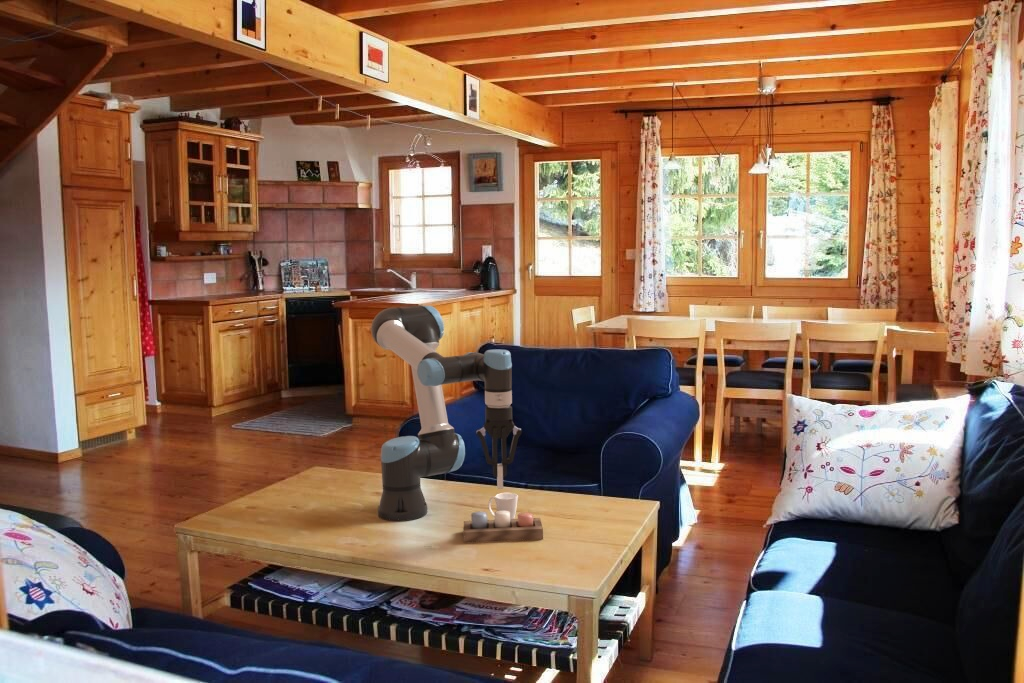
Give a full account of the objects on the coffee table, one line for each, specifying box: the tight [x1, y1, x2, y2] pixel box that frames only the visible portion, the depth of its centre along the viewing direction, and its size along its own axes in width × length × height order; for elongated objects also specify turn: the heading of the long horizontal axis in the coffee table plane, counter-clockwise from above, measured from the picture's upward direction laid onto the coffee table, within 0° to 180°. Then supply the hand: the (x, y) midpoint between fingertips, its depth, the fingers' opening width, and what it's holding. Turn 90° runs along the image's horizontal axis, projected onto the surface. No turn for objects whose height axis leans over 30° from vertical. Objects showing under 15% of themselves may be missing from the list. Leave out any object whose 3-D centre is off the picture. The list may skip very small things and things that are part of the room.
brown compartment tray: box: [463, 517, 544, 544], centre depth 246 cm, size 22×10×3 cm, turn 93°
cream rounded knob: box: [493, 510, 510, 528], centre depth 246 cm, size 4×4×4 cm
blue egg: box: [470, 511, 488, 529], centre depth 245 cm, size 4×4×4 cm
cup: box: [488, 492, 519, 519], centre depth 258 cm, size 7×10×8 cm
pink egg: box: [517, 512, 534, 527], centre depth 246 cm, size 4×4×4 cm
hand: (500, 487), depth 245 cm, fingers closed
